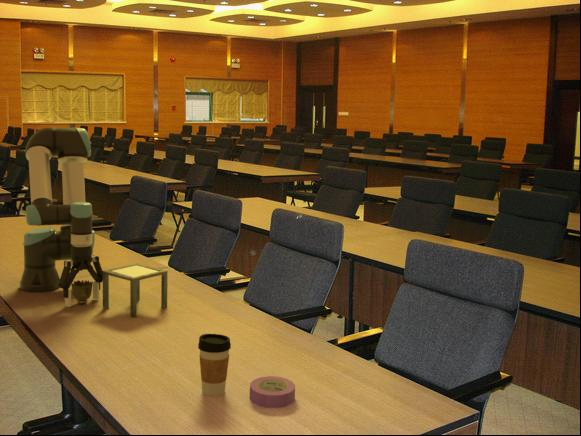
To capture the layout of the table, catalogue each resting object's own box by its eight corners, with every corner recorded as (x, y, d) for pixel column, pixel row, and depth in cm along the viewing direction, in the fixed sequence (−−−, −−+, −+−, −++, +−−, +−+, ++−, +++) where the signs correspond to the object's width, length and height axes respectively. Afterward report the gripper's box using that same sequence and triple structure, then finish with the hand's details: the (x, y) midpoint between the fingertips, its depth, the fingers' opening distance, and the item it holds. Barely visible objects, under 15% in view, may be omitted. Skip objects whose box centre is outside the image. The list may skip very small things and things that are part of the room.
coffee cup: (198, 385, 182) (199, 331, 179) (229, 385, 182) (231, 332, 180) (196, 398, 173) (197, 342, 171) (229, 398, 174) (231, 343, 172)
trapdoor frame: (102, 308, 245) (102, 270, 243) (136, 299, 258) (137, 263, 256) (133, 317, 236) (133, 278, 234) (167, 307, 249) (167, 270, 247)
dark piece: (86, 307, 246) (86, 285, 245) (67, 305, 247) (67, 284, 246) (96, 301, 253) (96, 280, 252) (78, 299, 254) (78, 279, 253)
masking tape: (296, 409, 170) (297, 394, 170) (250, 408, 169) (250, 394, 169) (292, 389, 182) (293, 376, 181) (249, 389, 181) (249, 375, 180)
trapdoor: (111, 273, 243) (111, 270, 243) (136, 267, 253) (136, 265, 253) (133, 280, 237) (133, 277, 236) (159, 274, 246) (159, 271, 246)
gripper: (59, 251, 235) (60, 311, 238) (114, 241, 254) (114, 297, 258) (46, 248, 239) (47, 307, 243) (101, 239, 258) (101, 294, 262)
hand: (82, 302), depth 250 cm, fingers open, 12 cm apart
